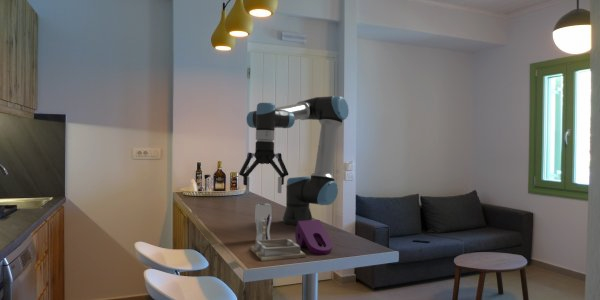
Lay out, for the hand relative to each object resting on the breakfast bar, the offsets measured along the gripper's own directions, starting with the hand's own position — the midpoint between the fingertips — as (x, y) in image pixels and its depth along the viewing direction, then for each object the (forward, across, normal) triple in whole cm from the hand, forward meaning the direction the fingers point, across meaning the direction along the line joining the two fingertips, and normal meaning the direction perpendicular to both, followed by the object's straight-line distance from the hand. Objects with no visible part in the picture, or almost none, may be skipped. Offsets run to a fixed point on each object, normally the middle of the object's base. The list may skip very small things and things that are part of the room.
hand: (263, 193), depth 165 cm
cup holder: (+20, 0, -19) cm, 27 cm away
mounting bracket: (+20, +16, -17) cm, 31 cm away
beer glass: (+20, 0, 0) cm, 20 cm away
